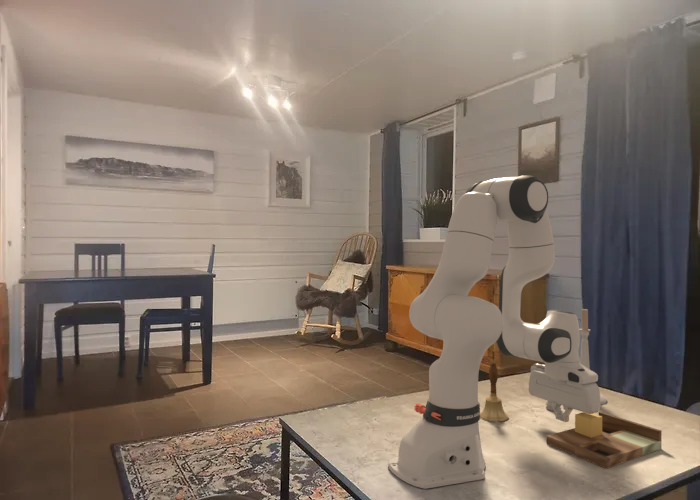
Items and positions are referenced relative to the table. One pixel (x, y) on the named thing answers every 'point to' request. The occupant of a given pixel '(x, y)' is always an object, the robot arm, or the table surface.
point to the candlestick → (586, 345)
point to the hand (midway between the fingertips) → (562, 420)
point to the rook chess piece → (549, 405)
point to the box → (609, 441)
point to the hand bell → (493, 400)
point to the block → (588, 424)
